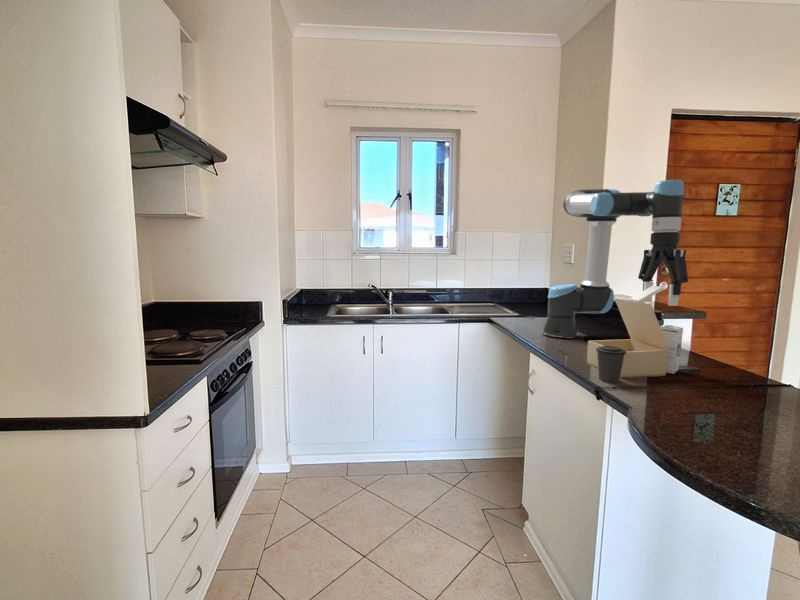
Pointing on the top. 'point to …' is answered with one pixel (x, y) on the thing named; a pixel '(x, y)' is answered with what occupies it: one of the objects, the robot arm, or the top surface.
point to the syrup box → (672, 346)
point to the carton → (633, 357)
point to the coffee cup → (610, 363)
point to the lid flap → (642, 318)
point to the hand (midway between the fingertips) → (659, 303)
